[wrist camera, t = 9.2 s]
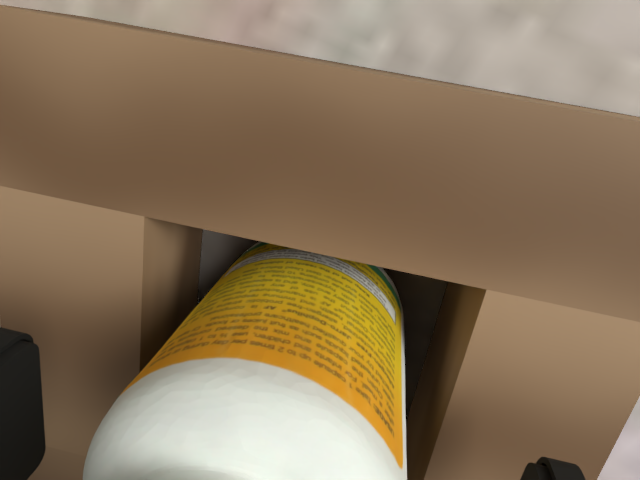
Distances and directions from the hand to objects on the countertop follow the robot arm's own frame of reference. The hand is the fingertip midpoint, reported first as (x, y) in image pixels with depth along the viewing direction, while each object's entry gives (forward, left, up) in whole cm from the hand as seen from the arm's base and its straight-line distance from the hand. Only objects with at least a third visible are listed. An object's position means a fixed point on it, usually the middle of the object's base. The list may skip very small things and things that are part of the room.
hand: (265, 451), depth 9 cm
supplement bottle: (0, 0, -6) cm, 6 cm away
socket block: (0, 0, -5) cm, 5 cm away
